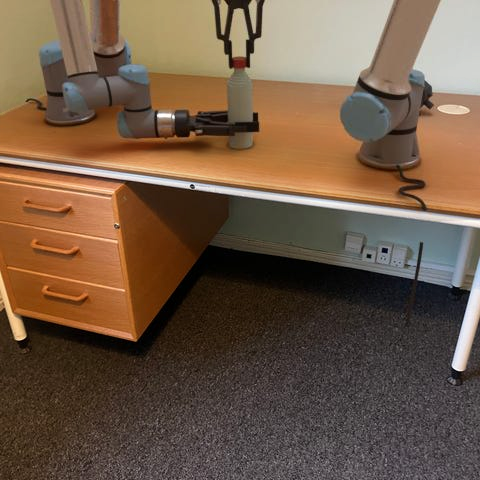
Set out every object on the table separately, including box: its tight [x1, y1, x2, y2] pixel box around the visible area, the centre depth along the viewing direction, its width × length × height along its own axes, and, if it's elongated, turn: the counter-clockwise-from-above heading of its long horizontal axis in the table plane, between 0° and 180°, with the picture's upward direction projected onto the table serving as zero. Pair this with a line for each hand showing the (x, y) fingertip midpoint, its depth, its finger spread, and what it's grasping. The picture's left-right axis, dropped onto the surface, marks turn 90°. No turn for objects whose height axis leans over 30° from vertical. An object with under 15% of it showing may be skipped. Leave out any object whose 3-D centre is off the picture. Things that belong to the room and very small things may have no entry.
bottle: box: [226, 68, 254, 150], centre depth 144 cm, size 7×7×23 cm
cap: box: [232, 56, 247, 69], centre depth 138 cm, size 4×4×2 cm
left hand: (258, 122), depth 146 cm, fingers closed on bottle, 7 cm apart
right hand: (239, 66), depth 138 cm, fingers closed on cap, 4 cm apart
